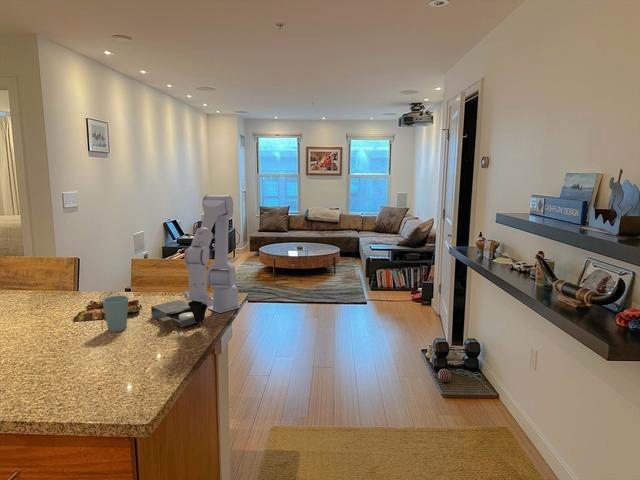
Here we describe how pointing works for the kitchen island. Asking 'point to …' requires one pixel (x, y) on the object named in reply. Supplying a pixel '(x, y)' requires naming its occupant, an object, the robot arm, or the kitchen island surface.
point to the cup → (116, 312)
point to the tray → (184, 321)
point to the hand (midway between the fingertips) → (199, 322)
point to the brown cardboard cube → (166, 324)
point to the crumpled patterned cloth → (102, 310)
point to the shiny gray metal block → (169, 309)
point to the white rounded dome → (185, 315)
